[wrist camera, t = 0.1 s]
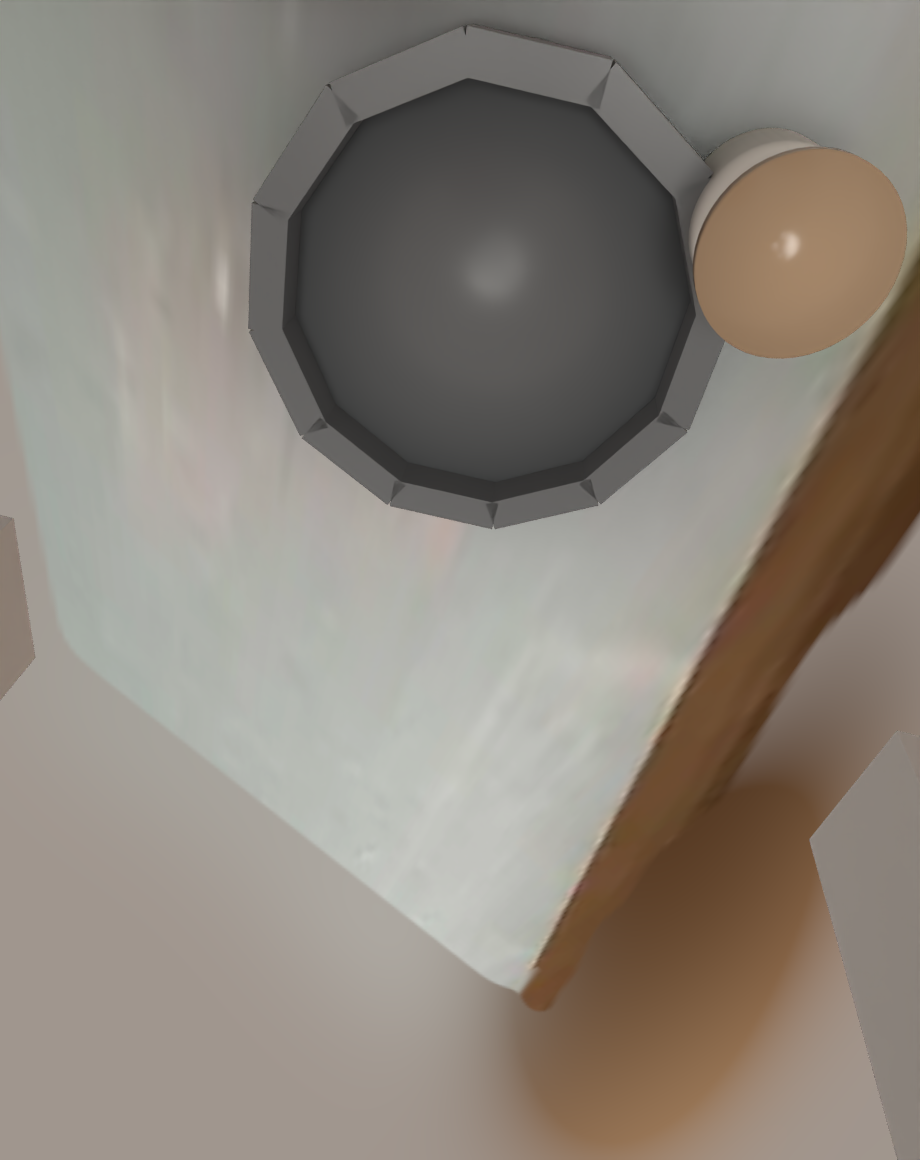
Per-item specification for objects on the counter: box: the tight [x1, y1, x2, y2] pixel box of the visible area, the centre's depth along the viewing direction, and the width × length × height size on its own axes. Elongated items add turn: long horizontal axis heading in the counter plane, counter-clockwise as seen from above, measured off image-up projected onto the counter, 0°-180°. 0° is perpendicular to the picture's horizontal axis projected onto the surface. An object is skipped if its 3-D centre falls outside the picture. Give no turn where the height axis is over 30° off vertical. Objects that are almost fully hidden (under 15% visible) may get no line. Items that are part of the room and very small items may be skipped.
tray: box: [248, 24, 725, 529], centre depth 35 cm, size 20×20×3 cm
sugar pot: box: [689, 128, 907, 358], centre depth 30 cm, size 7×7×8 cm
